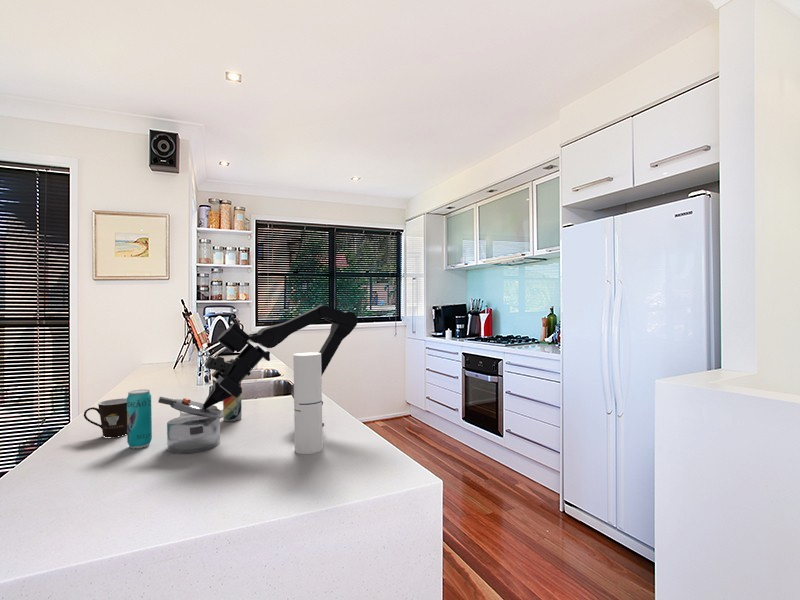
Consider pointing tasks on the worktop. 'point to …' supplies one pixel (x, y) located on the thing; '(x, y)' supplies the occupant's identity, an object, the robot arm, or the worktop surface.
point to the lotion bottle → (232, 408)
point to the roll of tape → (217, 405)
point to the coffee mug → (111, 417)
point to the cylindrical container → (308, 402)
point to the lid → (191, 407)
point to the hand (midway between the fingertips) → (204, 407)
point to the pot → (192, 434)
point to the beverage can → (139, 418)
